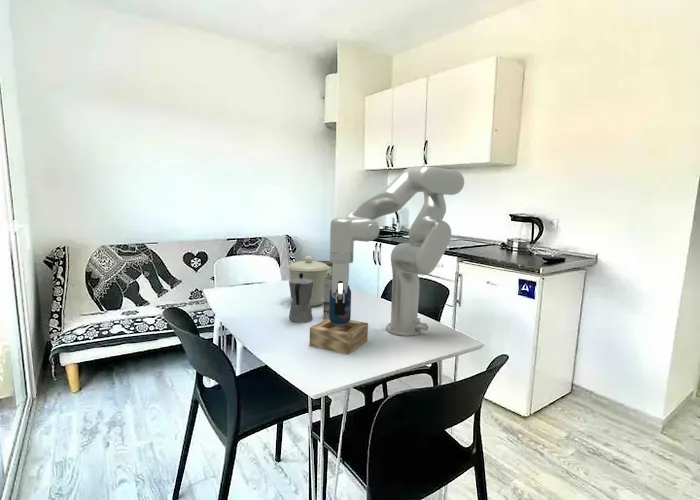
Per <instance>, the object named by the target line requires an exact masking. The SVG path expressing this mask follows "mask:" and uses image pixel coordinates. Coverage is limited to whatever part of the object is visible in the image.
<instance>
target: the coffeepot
mask: <svg viewBox="0 0 700 500" xmlns="http://www.w3.org/2000/svg"><path fill="white" fill-rule="evenodd" d="M299 277H300V278H297V279H292V280H290V279H289V280H288V282H289V283H288V284H289V292H290V297H291V304H290V309H289V314H288V320H289V321H290V322H292V323H297V324H305V323H310V322H312V320H313V319H314V318H313V313H312V306H311V305H310V298H311V294H312V288H313V281H312V280H310V279H306V278H303V274H302V273H300V274H299Z"/></svg>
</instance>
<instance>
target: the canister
mask: <svg viewBox="0 0 700 500" xmlns="http://www.w3.org/2000/svg"><path fill="white" fill-rule="evenodd" d="M313 260H314V258H313V257H312V256H311V255H306V256H305V257H304V260H299V261H294V262H292V263H290V264H288V265H287V266H286V267H287V269H288V273H289V274H288V277H289V280H292V279H297V278H300V277H299V274H300V273H302V274H303V278H306V279H310V280H312V281H313V288H312V294H311V298H310V305H311V307H315V306H316V307H317V306H320V305H322V303H324V279H325V278H326V277H327V273H328V269H329V266H328V265H326V264H325V263H322V262H317V261H318V260H315V261H313Z"/></svg>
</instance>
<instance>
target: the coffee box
mask: <svg viewBox="0 0 700 500" xmlns="http://www.w3.org/2000/svg"><path fill="white" fill-rule="evenodd" d="M331 288H332V275H329V276H328V277H326V278H325V279H324V299H323V310H322V312H323V313H322V321H323V320H325V319H327V318H329V302H330V290H331Z"/></svg>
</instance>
